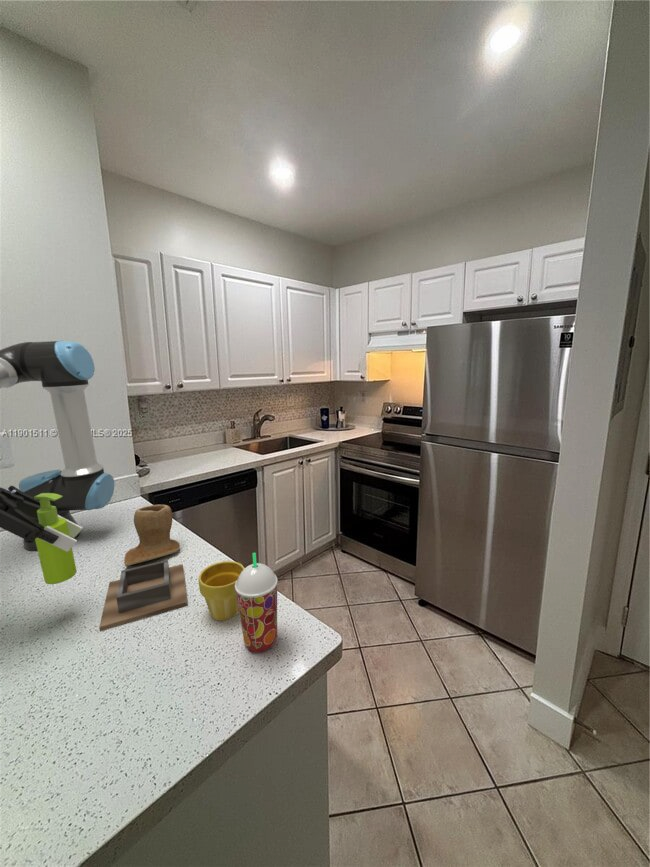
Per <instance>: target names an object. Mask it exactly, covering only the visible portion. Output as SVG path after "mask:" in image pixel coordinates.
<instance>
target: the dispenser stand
mask: <svg viewBox="0 0 650 867" xmlns="http://www.w3.org/2000/svg"><path fill="white" fill-rule="evenodd" d="M184 572H185V571H184V564H178V565H173V566H170V565H169V560H168V559H166V560H161V561H157V562H153V563H147V564H144V565H141V566H140V565H139V566H135V567H131V568H128V569H127V568H126V569H123V570H121V571H120V577H119V579H116V580H112V581H109V584H108V587H107V593H106V596H105V599H104V600H105V601H104V605H103V610H102V614H101V618H100V622H99V626H98V627H99V628H98V629H99V632H101V631H105V630H108V629H109V630H110V629H111V628H115V627H118V626H122V625H125V624H130V623H132V622H136V621H139V619H140V620H143V619H145V618H149V617H153V616H157V615H160V614H163V613H166V612H170V611H174V610H177V609H180V608H184V607H186V606H187V607H188V600H187V599H188V598H187V590H186V582H185V581H186V580H185V573H184ZM142 618H143V619H142Z"/></svg>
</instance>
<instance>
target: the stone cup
mask: <svg viewBox="0 0 650 867" xmlns="http://www.w3.org/2000/svg"><path fill="white" fill-rule="evenodd" d="M133 524H134V529H135V530H136V533H137V536H138V540H139V542H138V545H137V546H135V547H133V548H129V549H128V550H127V551H126V552H125V555H124V560H123V561H124V566H125V567H129V566H132V565H136V564H141V563H144V562H148V561H152V560H155V559H159V558H162V557H165V556H168V555H171V554H174V553H177V552H178V551H179V550H180V548H181V547H180V543H179V541H177V540H175V539H172V538H171V529H172V527H173V526H172V525H173V512H172V508H171V507H170V506H169V505H167V504H153V505H152V504H151V505H147V506H142V507H139V508H138V509H136V510H135V512H134V515H133Z"/></svg>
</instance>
